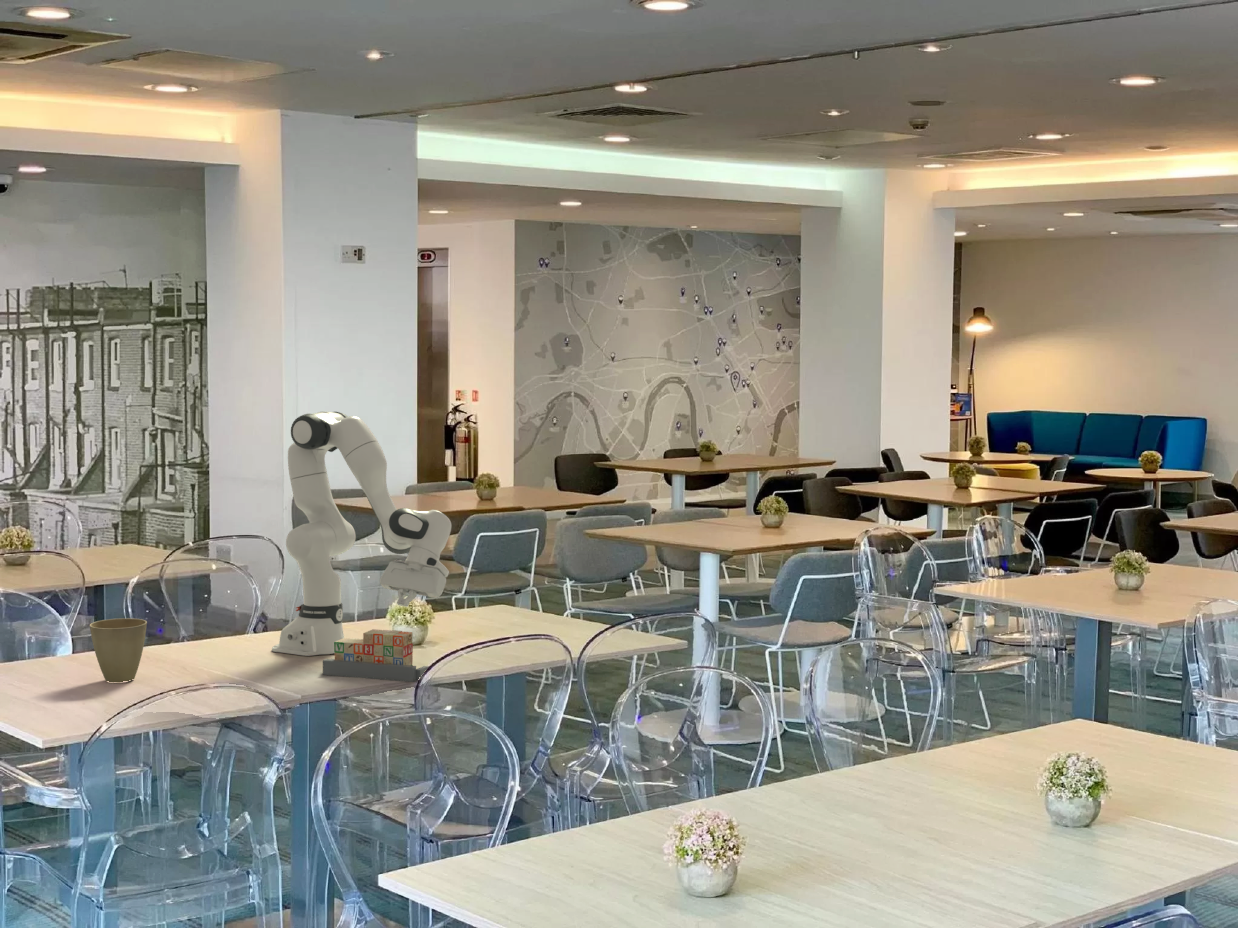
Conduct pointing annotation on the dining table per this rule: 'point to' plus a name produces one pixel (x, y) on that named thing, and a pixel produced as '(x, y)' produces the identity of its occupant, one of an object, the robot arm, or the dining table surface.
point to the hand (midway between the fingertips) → (401, 605)
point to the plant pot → (118, 647)
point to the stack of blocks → (377, 647)
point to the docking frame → (372, 670)
